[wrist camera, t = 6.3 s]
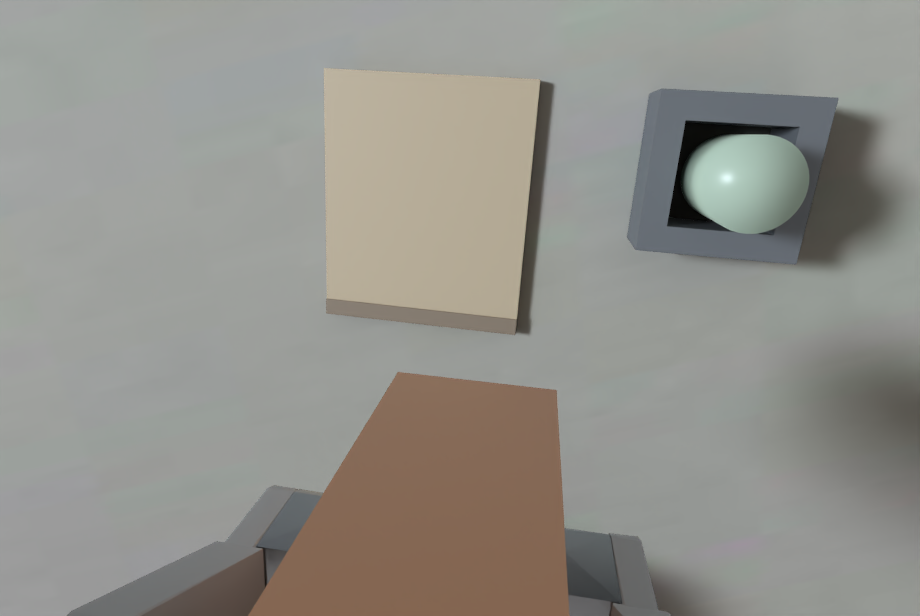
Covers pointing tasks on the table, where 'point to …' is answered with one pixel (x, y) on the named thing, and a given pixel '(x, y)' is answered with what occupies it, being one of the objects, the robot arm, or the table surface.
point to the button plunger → (745, 181)
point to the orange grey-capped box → (437, 511)
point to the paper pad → (427, 196)
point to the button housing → (659, 157)
